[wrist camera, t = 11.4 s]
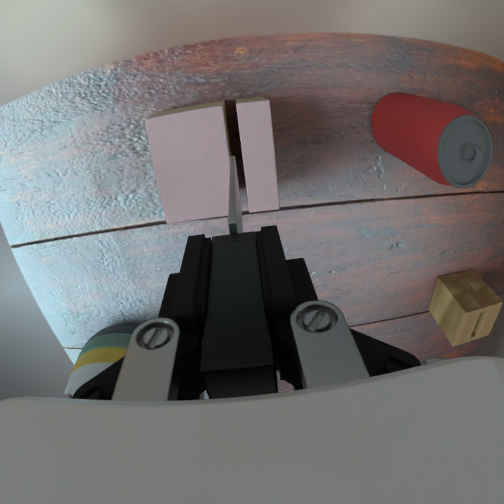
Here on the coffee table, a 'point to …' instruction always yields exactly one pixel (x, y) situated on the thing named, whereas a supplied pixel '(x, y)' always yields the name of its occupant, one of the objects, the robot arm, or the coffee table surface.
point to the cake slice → (258, 153)
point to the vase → (100, 354)
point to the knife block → (464, 306)
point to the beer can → (433, 138)
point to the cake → (191, 160)
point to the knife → (236, 313)
